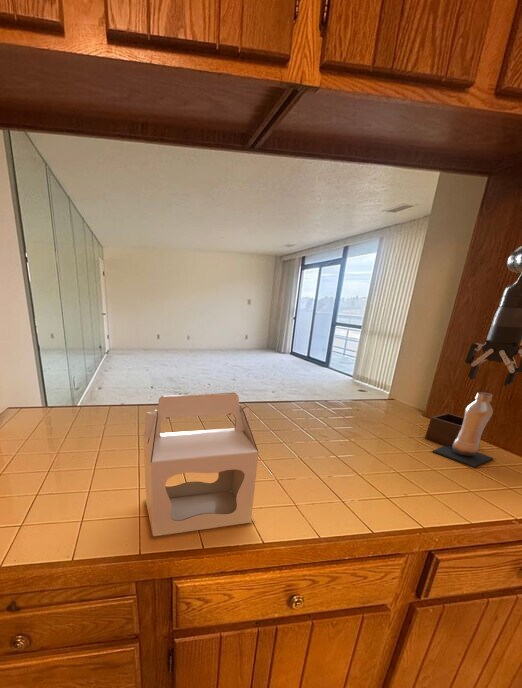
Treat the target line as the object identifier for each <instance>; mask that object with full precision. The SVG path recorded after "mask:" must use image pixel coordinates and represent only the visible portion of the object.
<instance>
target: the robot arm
mask: <svg viewBox="0 0 522 688" xmlns="http://www.w3.org/2000/svg"><path fill="white" fill-rule="evenodd" d="M506 265H507V268H508V270H509V271H511V272H512V273H515V274H520V275H519V276H518V278H517V279H516V281H515V282H513V283H510V284H508V285H507V286H506V287H505V288H504V290H503V293H502V296H501V299H500V301H499V305H498V307H497V309H496V311H495V313H494V316H493V318H492V320H491V324H490V328H489V331H488V334H487V336H486V340H485V342H484V343H483V344H482V343H479V342H474V343H471V345H470V347H469V350H468V352H467V354H466V357H465V360H464V363H465V364H468V365H470V369H469V372H468V378H469V380H476V378H477V375H478V372H479V369H480V365H482V364H484V363H485V362H486V361H488V362H497V363H504V365H505V366H506V367H507V370H508V372H507V375H506V377H505V380H504V382H503V386H505V387H509V386H510V385H512V384H513V383H514V382H515V379H516V376H517V375H518V373H522V348H521V347H520V346H521V343H522V245H520V246H519V247H516V248H515V249H514V250H513V251H512V252H511V253H510V255H509V256H508V258H507V261H506ZM480 350H482V352H483V354H481V355H479V357H478V358H476V356H477V353H478V352H479V351H480ZM518 354H519V357H520V358H521V359H520V363H519V365H517V361H516V360H515V356H516V355H518ZM475 358H476V359H475Z"/></svg>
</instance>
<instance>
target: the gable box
mask: <svg viewBox="0 0 522 688" xmlns="http://www.w3.org/2000/svg"><path fill="white" fill-rule="evenodd" d="M223 415H227V416H231V415H233V417H234V427H230V428H228V427H227V428H215V429H204V430H203V429H201V430H190V431H189V430H188V431H174V432H162V429H161V427H162V426H161V425H162V422H163V420H165V419H166V420H169V419H175V418H176V419H178V418H193V417H208V416H223ZM161 432H162V433H161ZM253 435H254V434H253V433H252V430H251V427H250V407H249V406H243V407H242V406H241V405H240V397H239V395H238V393H236V392H219V393H202V394H201V393H197V394H196V393H195V394H178V395H177V394H176V395H175V394H174V395H162V396H160V397H159V399H158V402H157V409H154V410H153V412H150V411H147V412H146V413H145V430H144V433H143V435H142V437H143V462H144V487H145V488H144V489H145V504H146V509H147V515H148V520H149V523H150V528H151V534H152V537H160V536H167V535H173V534H174V535H175V534H180V533H187V532H188V533H189V532H194V531H200V530H208V529H215V528H222V527H228V526H237V525H243V524H250V523H252V518H253V508H254V499H255V489H256V488H255V487H256V479H257V470H258V469H257V468H258V462H259V461H258V459H259V449H258V447H257V444H256V440H255V439H254V436H253ZM189 473H190V474H191V473H192V474H215V473H218V476H217V477H218V478H217V479H216V480H215V481H212V482H204V481H187V482H183V483H180V484H176V485H172V486H166V483H167V481H168V480H169V479H171V478H172V477H174V476H176V475H182V474H189Z"/></svg>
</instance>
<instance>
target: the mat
mask: <svg viewBox="0 0 522 688" xmlns="http://www.w3.org/2000/svg"><path fill="white" fill-rule="evenodd" d="M432 453H434V454H436V455H439V456H441V457H444V458H447V459H449V460H452V461H455V462H457V463H460V464H463V465H466V466H469V467H471V468H472V469H473V468H474V469H475V468H477V467H479V466H481V465H484V464H485V463H488V462H490V461H492V460H494V457H492V456H489V455H486V454H484V453H480V452H478V451H477V453H476V454H475V455H473V456H465V455H461V454H458V453H456V452H454V451H453V449H452V446H450V445H447V446H445V445H443V446H441V447H439V448H437V449H434V450H432Z"/></svg>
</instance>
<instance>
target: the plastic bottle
mask: <svg viewBox="0 0 522 688" xmlns="http://www.w3.org/2000/svg"><path fill="white" fill-rule="evenodd" d="M492 398H493V394H492V393H489V392H485V391H484V392H482V391H478V392H477V393H476V395H475V396H474V399H475V400H473V401H471V403H469V404H468V405H467V406H466V407H465V409H464V416H463V418H464V420H463V423H462V427H461V430H460V432H459V434H458V436H457V438H456V439H455V441H454V442H453V445H452V449H453V451H454V452H456V453H458V454H461V455H465V456H473V455H475V454H476V453H477V452H478V451H479V449H480V442H481V439H482V435H483V432H484V430H485V428H486V426H487V424H488V422H489V421H490V419H491V417H492V416H493V413H494V410H493V407H492V405H491V403H490V402H492V400H493V399H492Z"/></svg>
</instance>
